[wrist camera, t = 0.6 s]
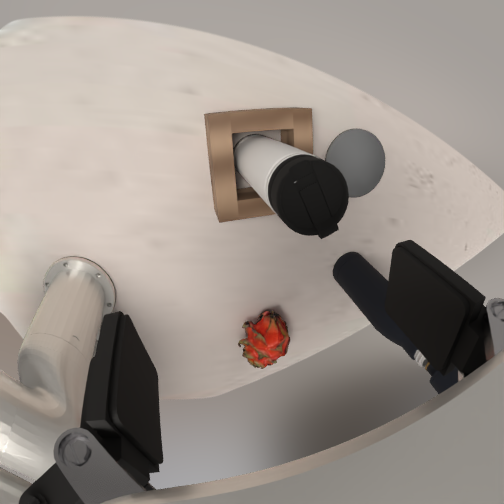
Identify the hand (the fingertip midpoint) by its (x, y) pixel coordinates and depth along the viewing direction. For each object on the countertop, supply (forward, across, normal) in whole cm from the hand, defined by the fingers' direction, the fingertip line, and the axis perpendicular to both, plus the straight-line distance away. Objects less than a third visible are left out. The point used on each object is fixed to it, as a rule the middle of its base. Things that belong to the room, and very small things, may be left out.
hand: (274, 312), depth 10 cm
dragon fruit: (+33, -5, +32) cm, 46 cm away
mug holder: (+33, -8, +2) cm, 33 cm away
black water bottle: (+33, -22, +24) cm, 46 cm away
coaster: (+33, -23, +5) cm, 40 cm away
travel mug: (+33, -8, +2) cm, 34 cm away
